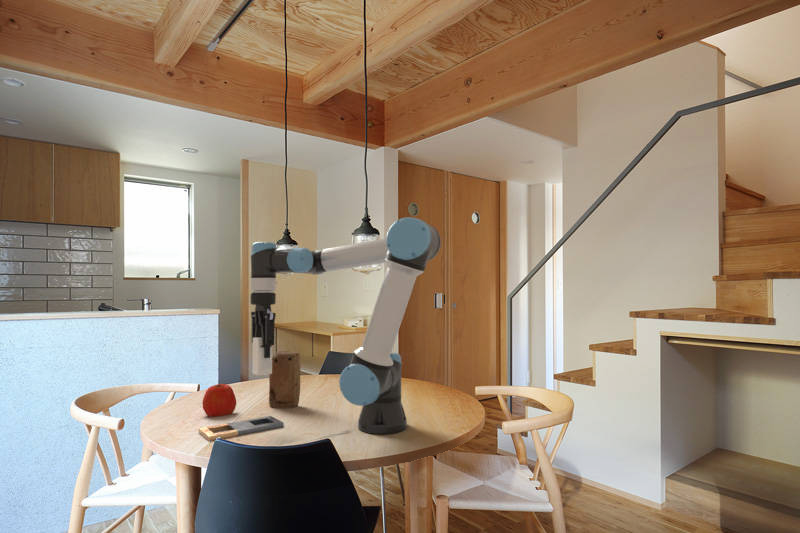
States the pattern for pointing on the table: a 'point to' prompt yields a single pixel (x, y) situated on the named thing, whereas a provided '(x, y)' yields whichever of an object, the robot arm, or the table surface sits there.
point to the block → (285, 380)
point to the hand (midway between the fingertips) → (262, 367)
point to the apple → (219, 400)
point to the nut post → (259, 358)
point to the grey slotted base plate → (240, 428)
